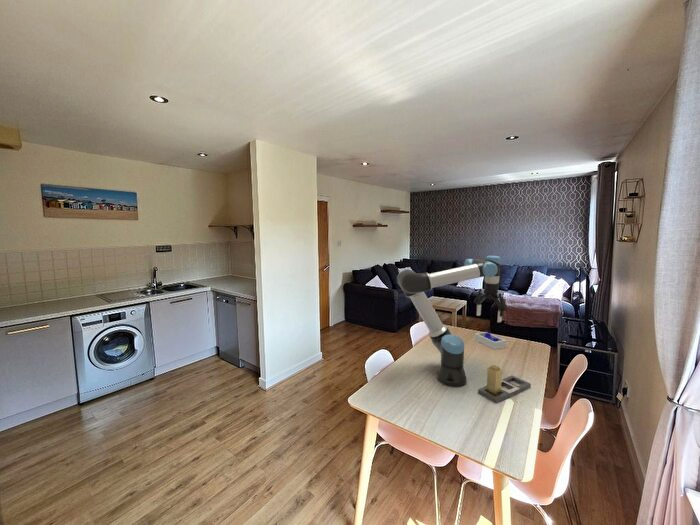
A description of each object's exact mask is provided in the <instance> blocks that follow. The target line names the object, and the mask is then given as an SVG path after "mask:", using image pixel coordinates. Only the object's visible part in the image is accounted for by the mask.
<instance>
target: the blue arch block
mask: <svg viewBox="0 0 700 525" xmlns="http://www.w3.org/2000/svg"><path fill="white" fill-rule="evenodd" d="M490 334H491V332H487V333H485V338H487V339H490V340H492V339H491V336H490ZM493 341H494V342H496V341H499V339H498V338H493Z"/></svg>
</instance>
